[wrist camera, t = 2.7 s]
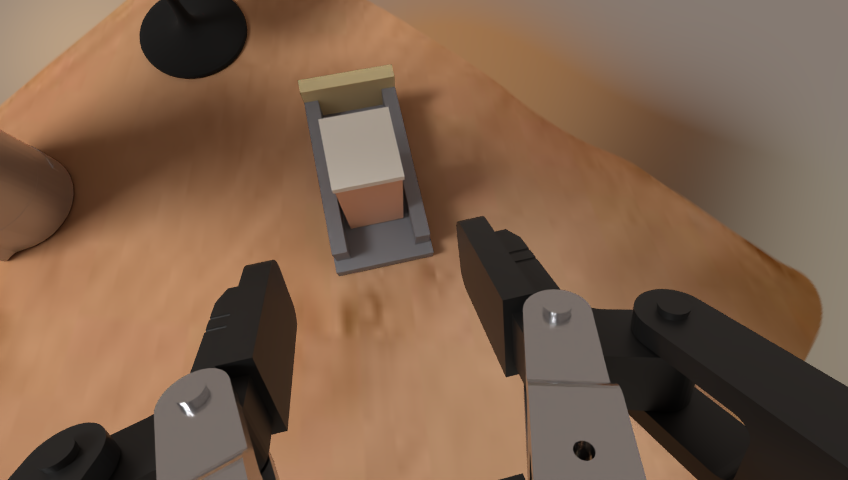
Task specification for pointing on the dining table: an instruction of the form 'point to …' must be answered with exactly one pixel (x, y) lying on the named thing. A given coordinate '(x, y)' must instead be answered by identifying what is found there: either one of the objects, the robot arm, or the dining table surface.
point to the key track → (347, 245)
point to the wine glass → (193, 36)
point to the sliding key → (364, 166)
